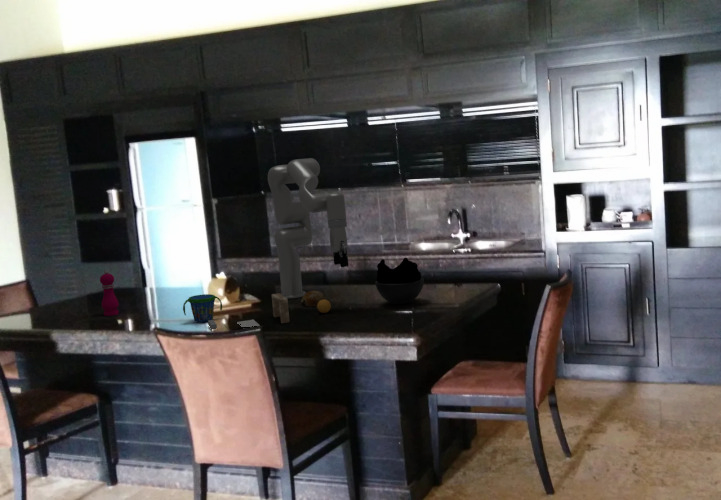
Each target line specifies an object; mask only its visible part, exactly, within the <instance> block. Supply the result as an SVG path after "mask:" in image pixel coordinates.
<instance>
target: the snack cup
mask: <svg viewBox="0 0 721 500" xmlns="http://www.w3.org/2000/svg"><path fill="white" fill-rule="evenodd" d="M216 299H217V300H218V301H219V303H220V307H219V308H220V309H219V311H222V310H223V303H222V300H221V299H220V298H219V297H218V296H216V295H215V294H210V293H208V294H207V293H206V294H196V295H192V296H189V297H188V299H186V300H185V301H184V302H183V306H182V311H183V314H184V316H187V314H186V304H187V303H188V302H189V304H190V309H191V312H192V316H193V320H194V322H195V321H197V322H196V323H199V322H202V323H206V322H205V321H207V322H208V320H212V319H213V320H214V314H215V313H214V311H215V308H214V307H215V302H216Z"/></svg>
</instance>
